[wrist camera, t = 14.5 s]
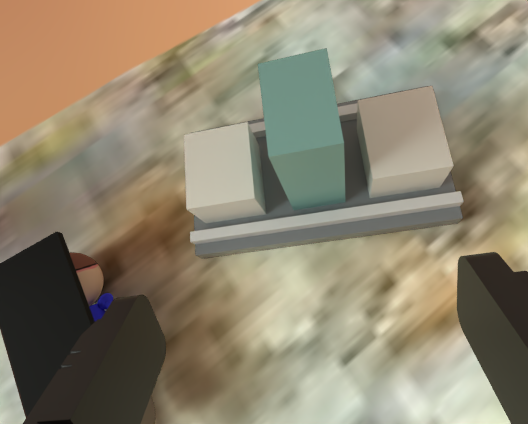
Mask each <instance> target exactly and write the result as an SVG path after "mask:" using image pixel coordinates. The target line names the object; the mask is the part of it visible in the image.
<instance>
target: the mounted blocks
mask: <svg viewBox="0 0 528 424" xmlns="http://www.w3.org/2000/svg"><path fill="white" fill-rule="evenodd" d="M357 133H358V138H359V144H360V149H361V154H362V159H363V165H364V170H365V175H366V180H367V186H368V191H369V196H370V198H375V197H382V196H388V195H395V194H401V193H408V192H414V191H421V190H427V189H434V188H440V186H441V185H442V183H443V182H444V180H445V179H446V177H447V176H448V174H449V173H450V171H451V169H452V168H453V166H454V165H453V161H452V158H451V154H450V150H449V146H448V143H447V139H446V135H445V131H444V128H443V124H442V120H441V117H440V113H439V109H438V105H437V102H436V98H435V94H434V90H433V87H432V86H428V87H423V88H418V89H413V90H408V91H403V92H398V93H393V94H387V95H382V96H377V97H372V98H367V99H362V100H358V104H357ZM184 152H185V181H186V209H187V210H188V211H190V212H191V213H192V214H194V215H195V216H196V217H198V218H199V219H201V220H202V221H203V222H205V223H212V222H219V221H225V220H232V219H238V218H245V217H251V216H258V215H264V214H266V207H265V197H264V187H263V177H262V167H261V158H260V148H259V144H258V142H257V140H256V138H255V136H254V134H253V132H252V130H251V128H250V126H249V124H248V122H245V123H240V124H235V125H230V126H225V127H220V128H215V129H210V130H205V131H200V132H194V133H189V134H184Z"/></svg>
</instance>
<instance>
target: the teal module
mask: <svg viewBox="0 0 528 424" xmlns="http://www.w3.org/2000/svg"><path fill="white" fill-rule="evenodd" d="M258 70H259V78H260V87H261V96H262V104H263V113H264V122H265V130H266V139H267V148H268V156H269V159H270V161H271V163H272V165H273V168H274V170H275V172H276V174H277V176H278V178H279V180H280V182H281V185H282V187H283V189H284V191H285V193H286V195H287V197H288V200H289V202H290V204H291V206H292V208H293V210H299V209H306V208H312V207H318V206H324V205H331V204H337V203H343V202H345V161H344V140H343V135H342V129H341V124H340V118H339V113H338V107H337V102H336V97H335V91H334V86H333V80H332V75H331V69H330V64H329V58H328V53H327V48H325V49H321V50H317V51H312V52H308V53H304V54H299V55H295V56H290V57H286V58H282V59H277V60H273V61H268V62H264V63H260V64H258Z"/></svg>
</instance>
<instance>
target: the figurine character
mask: <svg viewBox="0 0 528 424" xmlns="http://www.w3.org/2000/svg"><path fill="white" fill-rule="evenodd" d="M102 288H103V274H102V271H101V268H100V267H99V265H98V264H97V263H96V262H95V261H94V260H93V259H92V258H90V257H88V256H86V255H84V254H80V253H69V250H68V248H67V245H66V242H65V240H64V237H63V234H62V233H60V232H55V233H53V234H51V235H50V236H48V237H46V238H44V239H43V240H41V241H39V242H37V243H36V244H34V245H32V246H30V247H28V248H27V249H25V250H23V251H21V252H20V253H18V254H16V255H14V256H13V257H11V258H9V259H7V260H6V261H4V262H2V263H0V330H1V333H2V337H3V340H4V344H5V347H6V350H7V354H8V357H9V361H10V364H11V368H12V371H13V375H14V378H15V382H16V385H17V389H18V392H19V396H20V399H21V402H22V406H23V409H24V413H25V416H26V418H27V416H28V415H29V413H30V412H31V410H32V409H33V407H34V406H35V404H36V403H37V401H38V400H39V398H40V397H41V395H42V394H43V392H44V391H45V389H46V388H47V386H48V384H49V383H50V381H51V380H52V378H53V377H54V375H55V374H56V372H57V371H58V369H61V365H62V363H63V362H64V360H65V359H66V357H67V356H68V355H70V353H71V352H70V351H71V349H72V348H73V346H74V345H75V343H76V342H77V340H78V339H79V337H80V336H81V334H82V333H84V332H85V331H86V330H87V329H88V328H89V327H90V326H91V325H92V324H93V323H94V322H95V321H97V320H98V319H101V318H102V317H103V315H104V313H105V310H104V309H108V307H109V305H110V304H111V302H112V301H113V295H112V294H110V293H105V294H103V295H102V296H101V297H100V298H99V299H98V297H99V295H100V294H101V291H102ZM97 299H98V302H97V304H94V305H92V304H93V303H94V302H95V301H96V300H97ZM154 423H155V407H154V403H153V400H152V397H150V400H149V402H148V405H147V408H146V410H145V413H144V416H143V418H142V421H141V424H154Z"/></svg>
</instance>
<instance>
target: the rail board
mask: <svg viewBox="0 0 528 424" xmlns="http://www.w3.org/2000/svg"><path fill="white" fill-rule="evenodd" d="M426 87H428V86H426ZM421 88H423V87H421ZM416 89H418V88H416ZM411 90H413V89H411ZM405 91H408V90H405ZM400 92H403V91H400ZM395 93H398V92H395ZM390 94H393V93H390ZM434 94H435V93H434ZM385 95H387V94H385ZM380 96H382V95H380ZM375 97H377V96H375ZM370 98H372V97H370ZM435 98H436V97H435ZM365 99H367V98H365ZM360 100H362V99H360ZM357 104H358V100H355V101H350V102H345V103H340V104H337V107H338V113H339V118H340V124H341V129H342V135H343V140H344V161H345V202H343V203H337V204H331V205H324V206H318V207H312V208H306V209H299V210H293V208H292V206H291V204H290V202H289V200H288V197H287V195H286V193H285V191H284V189H283V187H282V185H281V182H280V180H279V178H278V176H277V174H276V172H275V170H274V168H273V165H272V163H271V161H270V159H269V156H268V148H267V139H266V130H265V122H264V118H263V119H258V120H253V121H248V124H249V126H250V128H251V130H252V132H253V134H254V136H255V138H256V140H257V142H258V144H259V148H260V158H261V167H262V177H263V187H264V197H265V207H266V214H264V215H258V216H251V217H245V218H238V219H232V220H225V221H219V222H212V223H205V222H203V221H202V220H201V219H199V218H198V217H196V216H195V215H194V229H195V231H193V232H190V242H192V243H193V244H195V254H196V256H198V257H200V258H202V259H203V258H210V257H218V256H225V255H232V254H239V253H247V252H254V251H261V250H268V249H276V248H283V247H290V246H297V245H305V244H312V243H319V242H327V241H334V240H341V239H348V238H356V237H363V236H370V235H377V234H385V233H392V232H399V231H406V230H414V229H421V228H428V227H435V226H443V225H450V224H457V223H458V222H459V221H460V220H461V219H462V218H463V217H462V213H461V209H460V205H461V204H462V203H463V202H464V201H463V198H462V194H461V191H457V192H456V190H455V186H454V183H453V179H452V175H451V171H450V173H449V174H448V176H447V177H446V179H445V180H444V182H443V183H442V185H441V186H440V188H434V189H427V190H421V191H414V192H408V193H401V194H395V195H388V196H382V197H375V198H370V196H369V191H368V186H367V180H366V175H365V170H364V165H363V159H362V154H361V149H360V144H359V138H358V133H357ZM243 123H245V122H243ZM238 124H240V123H238ZM233 125H235V124H233ZM228 126H230V125H228ZM223 127H225V126H223ZM218 128H220V127H218ZM213 129H215V128H213ZM208 130H210V129H208ZM203 131H205V130H203ZM197 132H200V131H197ZM192 133H194V132H192Z"/></svg>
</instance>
